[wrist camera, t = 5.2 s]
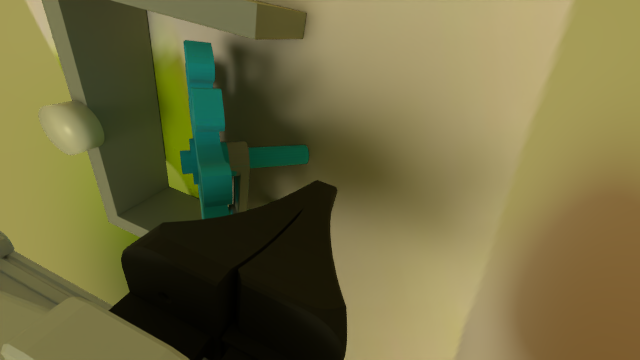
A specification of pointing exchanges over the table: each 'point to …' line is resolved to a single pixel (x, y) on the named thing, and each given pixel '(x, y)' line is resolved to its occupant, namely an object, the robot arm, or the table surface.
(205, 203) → the gear
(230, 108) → the table surface
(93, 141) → the housing
